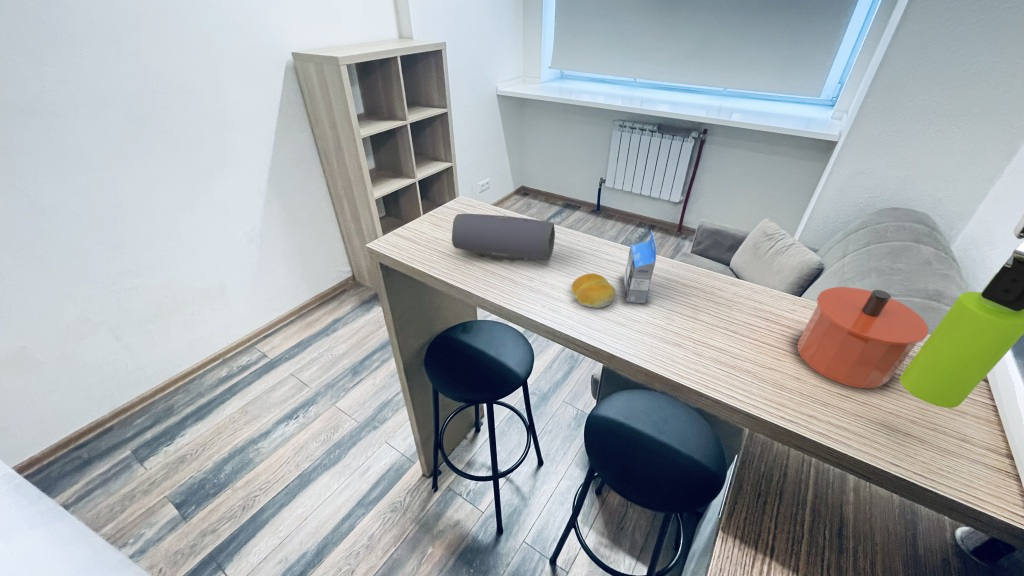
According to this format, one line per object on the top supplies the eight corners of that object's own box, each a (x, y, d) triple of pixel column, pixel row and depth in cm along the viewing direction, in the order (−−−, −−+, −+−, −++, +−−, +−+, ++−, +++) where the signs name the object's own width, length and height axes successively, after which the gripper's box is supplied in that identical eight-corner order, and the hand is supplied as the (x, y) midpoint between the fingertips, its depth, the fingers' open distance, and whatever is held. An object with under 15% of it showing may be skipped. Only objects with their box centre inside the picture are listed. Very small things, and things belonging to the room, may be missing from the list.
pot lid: (945, 333, 60) (965, 308, 57) (885, 359, 56) (903, 334, 53) (851, 284, 70) (864, 262, 67) (795, 304, 66) (806, 280, 63)
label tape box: (623, 278, 89) (631, 227, 82) (642, 279, 88) (652, 228, 81) (626, 302, 82) (636, 249, 75) (647, 304, 81) (658, 250, 74)
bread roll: (583, 313, 79) (585, 296, 77) (566, 287, 86) (568, 271, 84) (622, 305, 81) (625, 289, 79) (602, 281, 88) (604, 265, 86)
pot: (907, 374, 65) (942, 328, 60) (854, 398, 61) (886, 352, 56) (830, 326, 75) (854, 284, 69) (780, 345, 71) (801, 302, 65)
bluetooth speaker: (554, 251, 99) (556, 213, 93) (547, 271, 92) (549, 231, 86) (466, 241, 104) (462, 205, 98) (453, 260, 96) (448, 221, 91)
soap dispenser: (972, 421, 48) (1110, 276, 36) (897, 390, 52) (1001, 251, 40) (972, 393, 51) (1098, 253, 40) (902, 366, 55) (999, 232, 44)
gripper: (1199, 136, 28) (1015, 341, 38) (1281, 115, 33) (1099, 301, 43) (1045, 115, 33) (921, 298, 44) (1135, 100, 38) (1005, 267, 49)
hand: (1010, 298), depth 43 cm, fingers closed on soap dispenser, 3 cm apart
